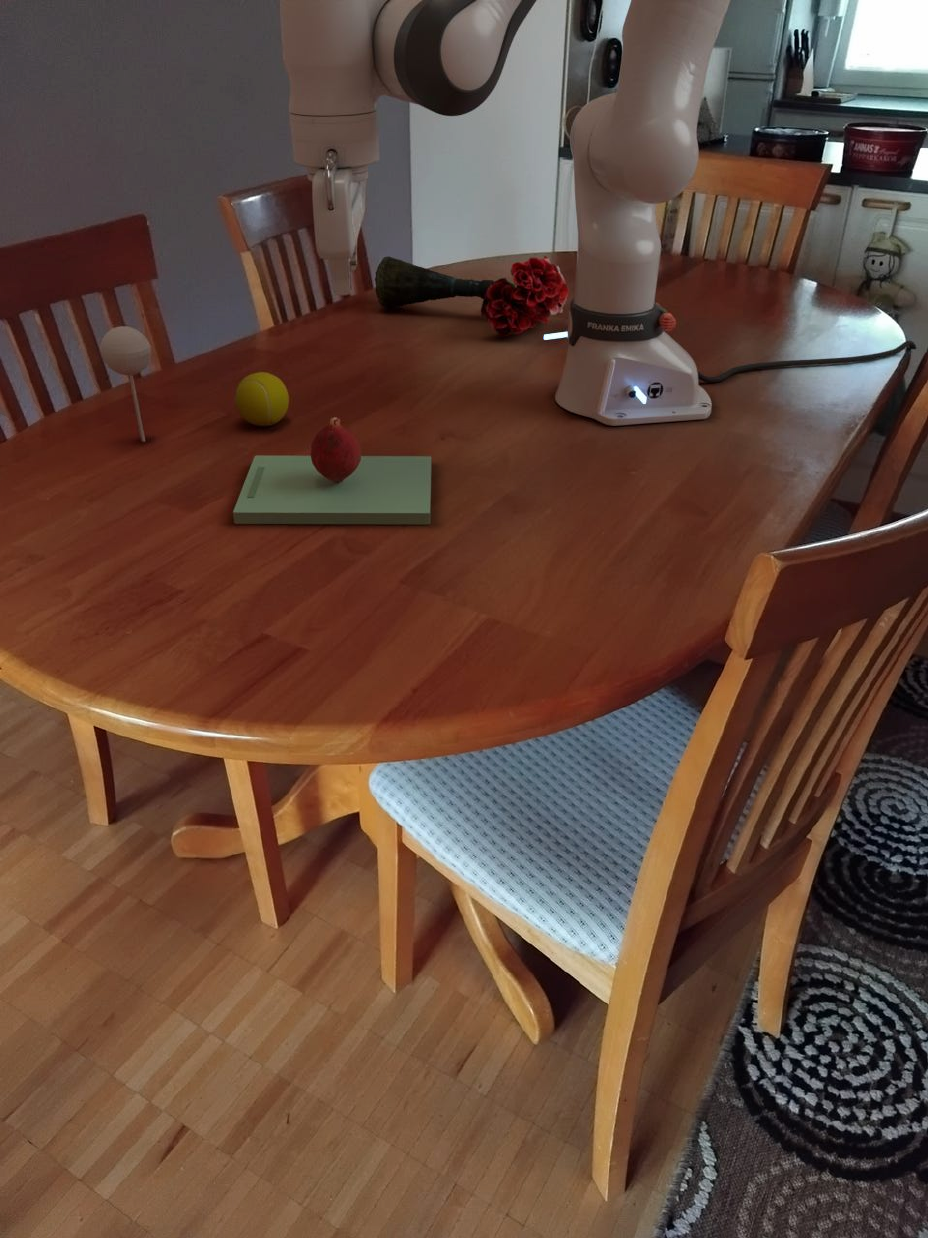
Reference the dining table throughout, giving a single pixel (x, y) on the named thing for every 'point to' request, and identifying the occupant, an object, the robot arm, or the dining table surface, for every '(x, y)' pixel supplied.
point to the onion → (335, 451)
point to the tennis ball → (262, 399)
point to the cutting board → (336, 492)
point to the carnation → (480, 291)
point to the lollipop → (127, 357)
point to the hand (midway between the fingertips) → (346, 281)
